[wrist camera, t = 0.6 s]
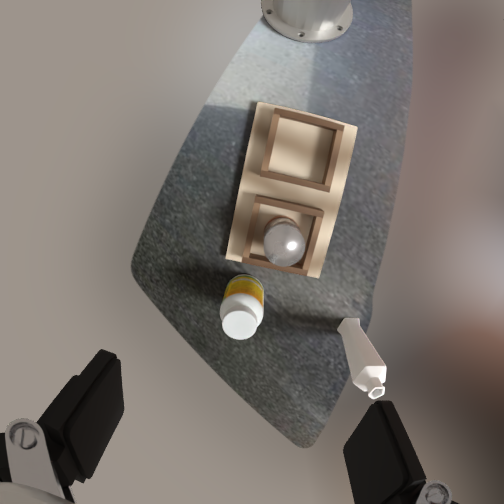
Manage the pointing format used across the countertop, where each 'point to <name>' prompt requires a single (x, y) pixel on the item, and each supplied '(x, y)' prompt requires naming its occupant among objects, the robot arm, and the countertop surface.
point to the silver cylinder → (283, 241)
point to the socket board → (291, 183)
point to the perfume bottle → (362, 358)
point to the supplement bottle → (242, 306)
